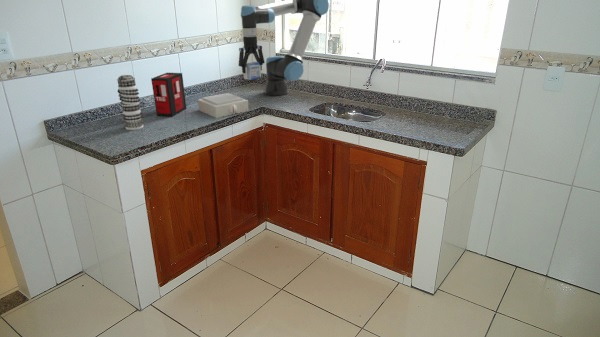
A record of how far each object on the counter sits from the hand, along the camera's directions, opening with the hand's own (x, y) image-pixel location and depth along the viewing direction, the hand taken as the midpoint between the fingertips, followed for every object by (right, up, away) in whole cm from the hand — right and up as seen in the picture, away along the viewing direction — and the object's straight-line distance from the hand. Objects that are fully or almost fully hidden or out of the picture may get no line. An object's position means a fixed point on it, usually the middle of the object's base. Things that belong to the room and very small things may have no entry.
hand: (252, 77), depth 228 cm
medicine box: (0, -1, 0) cm, 1 cm away
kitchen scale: (-15, -20, -5) cm, 26 cm away
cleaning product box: (-43, -21, -7) cm, 49 cm away
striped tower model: (-54, -32, -31) cm, 70 cm away
